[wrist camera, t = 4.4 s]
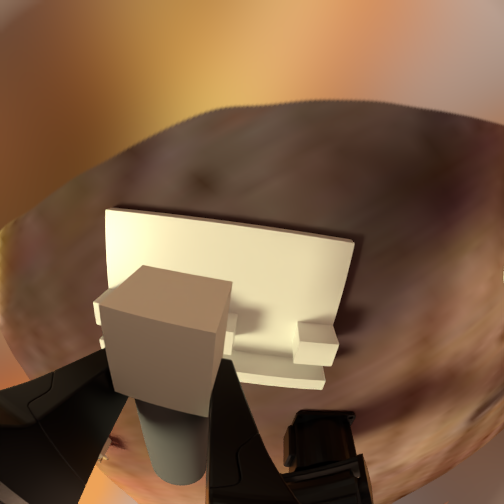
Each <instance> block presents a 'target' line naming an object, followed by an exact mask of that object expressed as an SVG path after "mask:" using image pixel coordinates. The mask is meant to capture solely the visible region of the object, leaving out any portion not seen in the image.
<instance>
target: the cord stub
mask: <svg viewBox="0 0 504 504" xmlns="http://www.w3.org/2000/svg"><path fill="white" fill-rule="evenodd" d="M232 283H233V282H232V281H227V280H221V279H215V278H210V277H204V276H199V275H193V274H188V273H182V272H177V271H172V270H167V269H161V268H156V267H151V266H146V265H142V266H141V267H140V268H139V269H137V270H136V271H135V272H134V273H133V274H132V275H131V276H129V277H128V278H127V279H126V280H125V281H124V282H123V283H122V284H120V285H119V286H118V287H117V288H116V289H115V290H114V291H113V292H112V293H110V294H109V295H108V296H107V297H106V298H105V299H104V300H103V301H102V302H101V303H100V304H99V312H100V320H101V326H102V333H103V338H104V344H105V349H106V355H107V360H108V364H109V369H110V373H111V378H112V382H113V386H114V390H115V392H118V393H121V394H124V395H126V396H129V397H132V398H135V402H136V406H137V411H138V415H139V420H140V424H141V428H142V432H143V436H144V439H145V443H146V447H147V450H148V454H149V457H150V460H151V463H152V467H153V469H154V471H155V473H156V474H157V475H158V476H159V477H160V478H161V479H162V480H164V481H166V482H168V483H170V484H174V485H189V484H192V483H195V482H197V481H198V480H200V479H201V478H202V476H203V475H204V473H205V471H206V463H207V447H208V428H209V415H210V406H211V395H212V390H213V386H214V382H215V379H216V375H217V372H218V369H219V365H220V362H221V358H223V352H224V344H225V336H226V328H227V321H228V313H229V305H230V298H231V290H232Z"/></svg>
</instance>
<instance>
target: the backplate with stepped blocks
mask: <svg viewBox="0 0 504 504" xmlns="http://www.w3.org/2000/svg"><path fill="white" fill-rule="evenodd" d="M354 245H355V243H354V242H353V241H352V240H351V239H345V238H339V237H333V236H327V235H321V234H314V233H308V232H301V231H295V230H288V229H281V228H275V227H268V226H261V225H254V224H246V223H239V222H232V221H224V220H216V219H209V218H201V217H193V216H185V215H176V214H168V213H159V212H150V211H141V210H132V209H122V208H109V209H106V256H107V272H108V285H109V289H108V290H107V291H105V292H104V293H103V294H102V295H101V296H99V297H98V298H97V299H96V300H95V301H94V302H93V305H94V311H95V317H96V323H97V324H98V325H101V320H100V312H99V304H100V303H101V302H102V301H103V300H104V299H105V298H106V297H107V296H108V295H109V294H110V293H112V292H113V291H114V290H115V289H116V288H117V287H118V286H119V285H120V284H122V283H123V282H124V281H125V280H126V279H127V278H128V277H129V276H131V275H132V274H133V273H134V272H135V271H136V270H137V269H139V268H140V267H141V266H142V265H146V266H151V267H156V268H161V269H167V270H172V271H177V272H182V273H188V274H193V275H199V276H204V277H210V278H215V279H221V280H227V281H232V282H233V283H232V290H231V298H230V305H229V313H228V321H227V328H226V336H225V344H224V352H223V358H225V359H231V360H232V361H233V364H234V367H235V370H236V372H237V375H238V378H239V381H240V382H246V383H253V384H261V385H270V386H279V387H290V388H302V389H319V390H322V388H323V386H324V384H325V381H326V380H325V375H324V370H323V366H332V363H333V360H334V358H335V355H336V352H337V350H338V347H339V342H338V339H337V336H336V333H335V330H334V327H333V324H334V320H335V317H336V314H337V310H338V307H339V303H340V300H341V296H342V293H343V289H344V285H345V282H346V278H347V274H348V270H349V266H350V262H351V258H352V253H353V249H354ZM100 344H101V349H103V348H105V344H104V338H103V336H102V337H101V338H100Z"/></svg>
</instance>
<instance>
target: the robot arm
mask: <svg viewBox="0 0 504 504" xmlns="http://www.w3.org/2000/svg"><path fill="white" fill-rule="evenodd" d="M128 397H129V396H126V395H124V394H121V393H118V392H115V390H114V386H113V382H112V378H111V373H110V369H109V364H108V360H107V355H106V349H105V348H103V349H101V350H99V351H97V352H94V353H92V354H90V355H88V356H86V357H84V358H81V359H79V360H77V361H75V362H73V363H71V364H68V365H66V366H64V367H62V368H59V369H57V370H55V371H54V372H50V373H48V374H46V375H44V376H41V377H39V378H36V379H34V380H31V381H28V382H26V383H23V384H19V385H17V386H13V387H10V388H6V389H3V390H0V504H78V502H79V499H80V497H81V495H82V493H83V490H84V488H85V485H86V483H87V481H88V479H89V477H90V475H91V473H92V470H93V468H94V466H95V464H96V462H97V460H98V458H99V455H100V453H101V451H102V449H103V447H104V445H105V443H106V441H107V439H108V437H109V435H110V433H111V431H112V429H113V427H114V425H115V423H116V421H117V419H118V417H119V415H120V413H121V411H122V409H123V407H124V405H125V403H126V401H127V399H128ZM355 417H356V416H355V413H353V412H304V411H300V412H297V413H296V415H295V418H294V420H293V423H292V425H290V426H288V428H287V431H286V433H285V436H284V466H285V467H289V473H284V474H281V473H279V472H278V470H277V468H276V467H275V465H274V463H273V462H272V460H271V458H270V456H269V454H268V452H267V450H266V448H265V446H264V443H263V441H262V438H261V436H260V434H259V431H258V429H257V426H256V424H255V421H254V418H253V416H252V413H251V411H250V408H249V405H248V403H247V400H246V397H245V395H244V392H243V389H242V386H241V384H240V381H239V378H238V375H237V372H236V370H235V367H234V364H233V361H232V360H231V359H225V358H221V362H220V365H219V369H218V372H217V375H216V379H215V382H214V386H213V390H212V395H211V406H210V415H209V428H208V447H207V470H206V500H205V504H373V495H372V486H371V481H370V477H369V472H368V468H367V465H366V462H365V460H364V457H363V454H359V455H357V454H356V450H355V445H354V440H353V436H352V431H351V427H350V426H351V424H352V422H353V421H354V419H355ZM357 477H359V478H357Z"/></svg>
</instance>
